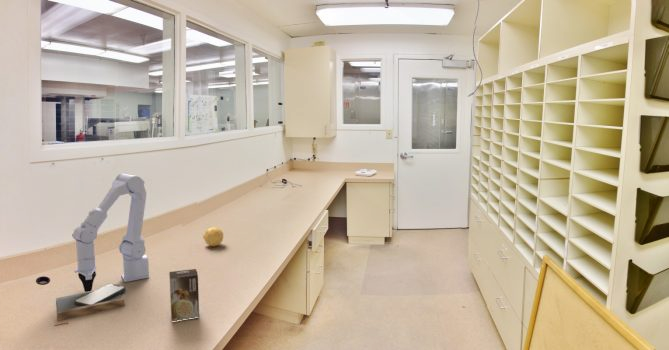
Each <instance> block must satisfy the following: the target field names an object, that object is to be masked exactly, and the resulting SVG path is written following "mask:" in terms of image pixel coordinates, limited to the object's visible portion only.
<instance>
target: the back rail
mask: <svg viewBox="0 0 669 350" xmlns="http://www.w3.org/2000/svg"><path fill="white" fill-rule="evenodd" d="M125 300H126V299H125V297H122V298H120V299H115V300H110V301H106V302H101V303H96V304H91V305H87V306H82V307H77V308H73V309H68V310H63V311H59V312H57V321H58V322H59V321H62V320H67V319H72V318H77V317H81V316H85V315H90V314H94V313H98V312H103V311H107V310H111V309H116V308H121V307H124V306H126V304H125V303H126V302H125Z"/></svg>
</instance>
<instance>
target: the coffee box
mask: <svg viewBox="0 0 669 350" xmlns="http://www.w3.org/2000/svg"><path fill="white" fill-rule="evenodd" d="M168 276H169V297H170V300H169V301H170V316H171V319H170V320H172V321H177V320H183V319H189V318H195V317H199V318H200V301H199V300H200V297H199V295H200V294H199V275H198V271H197V269H196V268H191V269H183V270H175V271H169V274H168ZM172 321H171V322H172Z"/></svg>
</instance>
